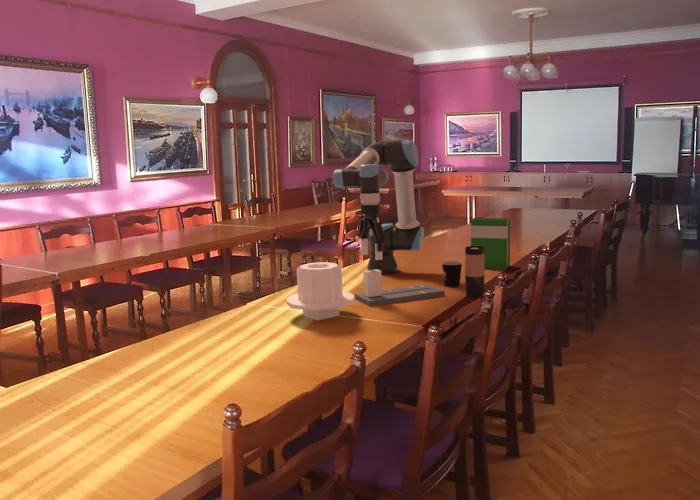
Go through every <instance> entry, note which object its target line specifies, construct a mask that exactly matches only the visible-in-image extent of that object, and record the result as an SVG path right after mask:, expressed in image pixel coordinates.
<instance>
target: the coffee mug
mask: <svg viewBox="0 0 700 500" xmlns="http://www.w3.org/2000/svg"><path fill="white" fill-rule="evenodd" d="M441 265H442V273H443V274H442V276H443V281H444V286H445V287H446V288H457V287H460V284H461V276H462V275H461V274H462V266H463V262H461V261H452V260H451V261H450V260H449V261H443V262H441Z"/></svg>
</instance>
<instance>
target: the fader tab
mask: <svg viewBox="0 0 700 500" xmlns="http://www.w3.org/2000/svg"><path fill="white" fill-rule="evenodd" d="M362 271H363V293H364V295H365V296H367V297H374V296H381V295H382V290H383V288H382V287H383V286H382V283H383V282H382V274H381V271H380V270H377V269H376V270H367V269H366V270H362Z"/></svg>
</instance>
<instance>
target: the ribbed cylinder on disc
mask: <svg viewBox="0 0 700 500" xmlns="http://www.w3.org/2000/svg"><path fill="white" fill-rule="evenodd" d="M342 274H343V273H342V266H341V265H340V264H337V262H328V261H327V262H326V261H324V262H322V261H321V262H318V261H317V262H310V263H306V264H300V265H299V266H298V267H297V268H296V282H297V283H296V285H297V293H294V294H292V295H290V296H288V297H287V298H286V305H287V306H288V307H290V308H293V309H297V310H302V315H303V316H304V317H305V318H309V319H312V320H315V321H323V320H327V319H331V318H336V317H338V316H340V308H343V307H346V306H349V305H351V304H353V303H354V302H355V294H353V293H350V292H348V291H344V290H343V275H342Z"/></svg>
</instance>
